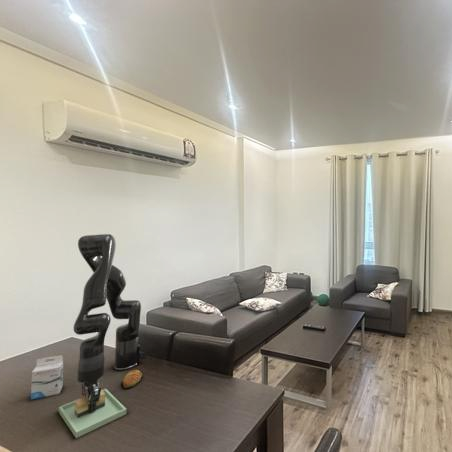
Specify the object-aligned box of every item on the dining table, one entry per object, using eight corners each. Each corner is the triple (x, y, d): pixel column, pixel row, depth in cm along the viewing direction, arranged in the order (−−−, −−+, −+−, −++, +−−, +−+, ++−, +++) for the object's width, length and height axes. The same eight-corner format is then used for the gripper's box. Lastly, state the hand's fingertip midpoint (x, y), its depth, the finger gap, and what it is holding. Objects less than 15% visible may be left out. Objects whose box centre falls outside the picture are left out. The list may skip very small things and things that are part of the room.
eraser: (101, 402, 108) (101, 389, 108) (104, 406, 106) (105, 393, 106) (74, 413, 102) (74, 400, 102) (77, 417, 99) (78, 404, 99)
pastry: (137, 386, 120) (138, 378, 120) (119, 390, 117) (119, 381, 117) (142, 375, 128) (142, 367, 128) (125, 378, 125) (125, 370, 125)
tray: (105, 393, 115) (105, 388, 115) (126, 413, 103) (126, 408, 103) (58, 412, 103) (58, 407, 103) (75, 438, 91) (76, 432, 91)
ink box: (30, 400, 108) (31, 364, 108) (34, 393, 113) (35, 359, 112) (59, 393, 113) (60, 359, 113) (63, 387, 117) (63, 354, 117)
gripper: (110, 367, 103) (109, 411, 103) (97, 356, 111) (96, 397, 111) (84, 376, 97) (83, 423, 97) (72, 363, 105) (71, 407, 105)
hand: (90, 409), depth 104 cm, fingers closed on eraser, 4 cm apart
